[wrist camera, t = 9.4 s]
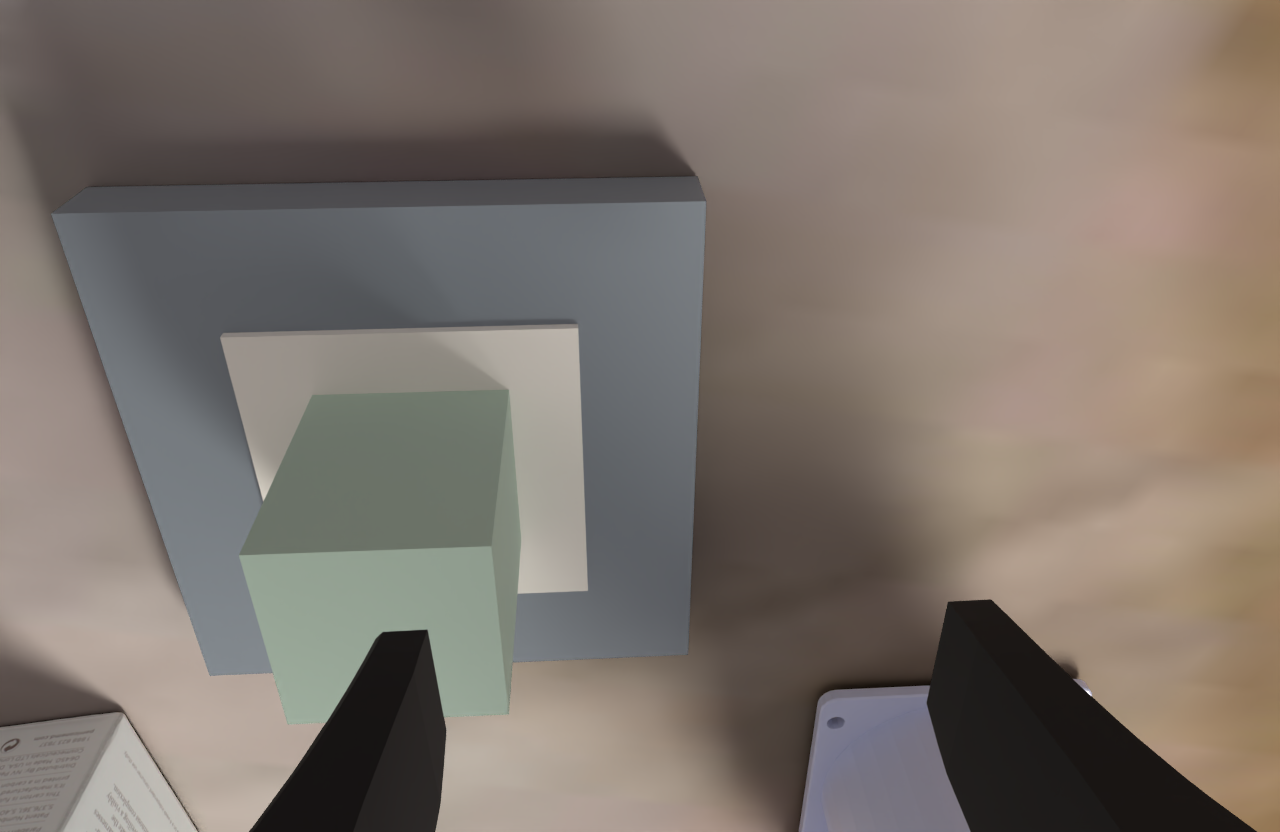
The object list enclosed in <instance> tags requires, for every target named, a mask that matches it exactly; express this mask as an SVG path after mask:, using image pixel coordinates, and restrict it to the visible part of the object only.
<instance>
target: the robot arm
mask: <svg viewBox="0 0 1280 832" xmlns="http://www.w3.org/2000/svg"><path fill="white" fill-rule="evenodd" d="M834 717H836V718H834ZM445 742H446V726H445V721H444V715H443V710H442V704H441V699H440V694H439V688H438V683H437V677H436V672H435V667H434V661H433V656H432V650H431V645H430V639H429V634H428V629H427V630H409V631H390V632H382V633H381V634H380V635H379V636H378V637H377V638H376V639H375V641H374V642H373V644H372V646H371V648H370V650H369V652H368V654H367V655H366V657H365V659H364V661H363V662H362V664H361V666H360V668H359V670H358V671H357V673H356V675H355V676H354V678H353V680H352V682H351V683H350V685H349V687H348V688H347V690H346V692H345V693H344V695H343V697H342V698H341V700H340V701H339V703H338V705H337V706H336V708H335V709H334V711H333V713H332V714H331V716H330V718H329V719H328V721H327V722H326V724H325V725H324V727H323V728H322V730H321V731H320V733H319V734H318V736H317V737H316V739H315V740H314V742H313V743H312V745H311V746H310V748H309V749H308V751H307V752H306V754H305V755H304V757H303V758H302V760H301V761H300V763H299V764H298V766H297V767H296V769H295V770H294V772H293V773H292V774H291V776H290V777H289V779H288V780H287V781H286V783H285V784H284V785H283V787H282V788H281V789H280V791H279V792H278V794H277V795H276V796H275V798H274V799H273V800H272V802H271V803H270V804H269V806H268V807H267V808H266V810H265V811H264V813H263V814H262V815H261V817H260V818H259V819H258V821H257V822H256V823H255V825H254V826H253V827H252V829H251V830H250V831H249V832H435V830H436V825H437V819H438V814H439V809H440V803H441V791H442V780H443V769H444V755H445ZM799 832H1257V831H1255V830H1254V829H1253V828H1251V827H1250V826H1249V825H1247V824H1246V823H1244V822H1243V821H1242V820H1240V819H1239V818H1238V817H1236V816H1235V815H1234V814H1232V813H1231V812H1230V811H1228V810H1227V809H1225V808H1224V807H1223V806H1221V805H1220V804H1219V803H1217V802H1216V801H1215V800H1213V799H1212V798H1211V797H1209V796H1208V795H1207V794H1205V793H1204V792H1203V791H1202V790H1200V789H1199V788H1198V787H1196V786H1195V785H1194V784H1193V783H1191V782H1190V781H1189V780H1187V779H1186V778H1185V777H1184V776H1182V775H1181V774H1180V773H1179V772H1178V771H1176V770H1175V769H1174V768H1173V767H1172V766H1170V765H1169V764H1168V763H1167V762H1166V761H1164V760H1163V759H1162V758H1161V757H1160V756H1158V755H1157V754H1156V753H1155V752H1154V751H1152V750H1151V749H1150V748H1149V747H1148V746H1146V745H1145V744H1144V743H1143V742H1142V741H1140V740H1139V739H1138V738H1137V737H1136V736H1135V735H1134V734H1132V733H1131V732H1130V731H1129V730H1128V729H1127V728H1126V727H1125V726H1123V725H1122V724H1121V723H1120V722H1119V721H1118V720H1117V719H1116V718H1115V717H1113V716H1112V715H1111V714H1110V713H1109V712H1108V711H1107V710H1106V709H1105V708H1104V707H1102V706H1101V705H1100V704H1099V703H1098V702H1097V701H1096V700H1095V699H1094V698H1093V697H1092V693H1091V691H1090V689H1089V688H1088V686H1087V684H1086V683H1085V682H1084V681H1082V680H1081V679H1072V678H1071V677H1070V676H1069V675H1068V674H1067V673H1066V672H1065V671H1064V670H1063V669H1062V668H1061V667H1060V666H1059V665H1058V664H1057V663H1056V662H1055V661H1054V660H1053V659H1052V658H1051V657H1050V656H1049V655H1047V654H1046V653H1045V652H1044V651H1043V650H1042V649H1041V648H1040V647H1039V646H1038V645H1037V644H1036V643H1035V642H1034V641H1033V640H1032V639H1031V638H1030V637H1029V636H1028V635H1027V634H1026V633H1025V632H1024V631H1023V630H1022V629H1021V628H1020V627H1019V626H1018V625H1017V624H1016V623H1015V622H1014V621H1013V620H1012V619H1011V618H1010V617H1009V616H1008V615H1007V614H1006V613H1005V612H1003V611H1002V610H1001V609H1000V608H999V607H998V606H997V605H996V604H995V603H994V602H993V601H992V600H973V601H954V602H948V604H947V609H946V614H945V618H944V623H943V628H942V632H941V637H940V642H939V646H938V651H937V656H936V660H935V665H934V670H933V674H932V679H931V684H930V685H928V686H906V687H884V688H863V689H841V690H832V691H829V692H827V693H825V694H823V695H822V696H821V697H820V699H819V701H818V704H817V711H816V718H815V725H814V731H813V738H812V745H811V752H810V758H809V765H808V772H807V779H806V785H805V792H804V799H803V806H802V812H801V819H800V826H799Z"/></svg>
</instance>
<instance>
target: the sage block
mask: <svg viewBox="0 0 1280 832" xmlns="http://www.w3.org/2000/svg"><path fill="white" fill-rule="evenodd" d="M520 552H521V530H520V517H519V505H518V493H517V481H516V468H515V456H514V444H513V432H512V419H511V407H510V395H509V390H478V391H441V392H405V393H368V394H332V395H312V397H311V399H310V401H309V403H308V405H307V408H306V410H305V412H304V414H303V416H302V418H301V421H300V423H299V425H298V427H297V429H296V432H295V434H294V436H293V438H292V440H291V442H290V445H289V447H288V449H287V451H286V453H285V456H284V458H283V460H282V462H281V464H280V466H279V469H278V471H277V473H276V475H275V477H274V480H273V482H272V484H271V486H270V488H269V491H268V493H267V495H266V497H265V499H264V501H263V504H262V506H261V508H260V510H259V512H258V515H257V517H256V519H255V521H254V523H253V525H252V528H251V530H250V532H249V534H248V536H247V539H246V541H245V543H244V545H243V547H242V549H241V552H240V554H239V558H240V561H241V565H242V568H243V572H244V575H245V578H246V582H247V585H248V589H249V592H250V596H251V599H252V603H253V606H254V610H255V613H256V616H257V620H258V623H259V627H260V630H261V634H262V637H263V641H264V644H265V648H266V651H267V654H268V658H269V661H270V665H271V668H272V672H273V675H274V679H275V682H276V686H277V689H278V692H279V696H280V699H281V703H282V706H283V710H284V713H285V717H286V720H287V724H308V723H326V722H327V721H328V719H329V718H330V716H331V714H332V713H333V711H334V709H335V708H336V706H337V705H338V703H339V701H340V700H341V698H342V697H343V695H344V693H345V692H346V690H347V688H348V687H349V685H350V683H351V682H352V680H353V678H354V676H355V675H356V673H357V671H358V670H359V668H360V666H361V664H362V662H363V661H364V659H365V657H366V655H367V654H368V652H369V650H370V648H371V646H372V644H373V642H374V641H375V639H376V638H377V637H378V636H379V635H380V634H381V633H382V632H390V631H409V630H427V629H428V634H429V639H430V645H431V650H432V656H433V661H434V667H435V672H436V677H437V683H438V688H439V694H440V699H441V704H442V710H443V715H444V717H461V716H483V715H505V714H509V705H510V691H511V677H512V663H513V649H514V635H515V622H516V608H517V594H518V580H519V566H520Z"/></svg>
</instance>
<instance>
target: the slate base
mask: <svg viewBox="0 0 1280 832" xmlns="http://www.w3.org/2000/svg"><path fill="white" fill-rule="evenodd" d="M51 215H52V218H53V221H54V224H55V227H56V230H57V233H58V236H59V238H60V241H61V244H62V247H63V250H64V253H65V256H66V259H67V262H68V265H69V268H70V270H71V273H72V276H73V279H74V282H75V285H76V288H77V291H78V294H79V297H80V300H81V302H82V305H83V308H84V311H85V314H86V317H87V320H88V323H89V326H90V329H91V332H92V334H93V337H94V340H95V343H96V346H97V349H98V352H99V355H100V358H101V361H102V364H103V366H104V369H105V372H106V375H107V378H108V381H109V384H110V387H111V390H112V393H113V396H114V398H115V401H116V404H117V407H118V410H119V413H120V416H121V419H122V422H123V425H124V428H125V430H126V433H127V436H128V439H129V442H130V445H131V448H132V451H133V454H134V457H135V460H136V462H137V465H138V468H139V471H140V474H141V477H142V480H143V483H144V486H145V489H146V492H147V494H148V497H149V500H150V503H151V506H152V509H153V512H154V515H155V518H156V521H157V524H158V527H159V529H160V532H161V535H162V538H163V541H164V544H165V547H166V550H167V553H168V556H169V559H170V561H171V564H172V567H173V570H174V573H175V576H176V579H177V582H178V585H179V588H180V591H181V593H182V596H183V599H184V602H185V605H186V608H187V611H188V614H189V617H190V620H191V623H192V625H193V628H194V631H195V634H196V637H197V640H198V643H199V646H200V649H201V652H202V655H203V657H204V660H205V663H206V666H207V669H208V672H209V675H210V676H215V675H237V674H260V673H273V672H272V668H271V665H270V661H269V658H268V654H267V651H266V648H265V644H264V641H263V637H262V634H261V630H260V627H259V623H258V620H257V616H256V613H255V610H254V606H253V603H252V599H251V596H250V592H249V589H248V585H247V582H246V578H245V575H244V572H243V568H242V565H241V561H240V558H239V554H240V552H241V549H242V547H243V545H244V543H245V541H246V539H247V536H248V534H249V532H250V530H251V528H252V525H253V523H254V521H255V519H256V517H257V515H258V512H259V510H260V508H261V506H262V504H263V501H264V499H265V497H266V495H267V493H268V491H269V488H270V486H271V484H272V482H273V480H274V477H275V475H276V473H277V471H278V469H279V466H280V464H281V462H282V460H283V458H284V456H285V453H286V451H287V449H288V447H289V445H290V442H291V440H292V438H293V436H294V434H295V432H296V429H297V427H298V425H299V423H300V421H301V418H302V416H303V414H304V412H305V410H306V408H307V405H308V403H309V401H310V399H311V397H312V395H332V394H368V393H405V392H441V391H478V390H509V395H510V407H511V419H512V432H513V444H514V456H515V468H516V481H517V493H518V505H519V517H520V530H521V552H520V566H519V580H518V594H517V608H516V622H515V635H514V649H513V662H532V661H555V660H578V659H601V658H623V657H646V656H669V655H688V645H689V620H690V595H691V571H692V546H693V521H694V496H695V471H696V446H697V421H698V396H699V371H700V346H701V321H702V296H703V271H704V247H705V222H706V199H705V196H704V193H703V191H702V188H701V185H700V182H699V179H698V176H685V177H628V178H572V179H515V180H458V181H401V182H345V183H288V184H231V185H174V186H117V187H86V188H85V189H84V190H82V191H81V192H80V193H78V194H77V195H76V196H74V197H73V198H72V199H70V200H69V201H68V202H66V203H65V204H63V205H62V206H61V207H59V208H58V209H57V210H55V211H54V212H53V213H51Z"/></svg>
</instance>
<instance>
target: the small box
mask: <svg viewBox="0 0 1280 832" xmlns="http://www.w3.org/2000/svg"><path fill="white" fill-rule="evenodd" d="M0 832H198V831H197V830H196V828H195V826H194V825H193V823H192V822H191V820H190V818H189V817H188V815H187V813H186V812H185V810H184V809H183V807H182V805H181V804H180V802H179V801H178V799H177V797H176V796H175V794H174V793H173V791H172V790H171V788H170V787H169V785H168V783H167V782H166V780H165V779H164V777H163V775H162V774H161V772H160V771H159V769H158V767H157V766H156V764H155V763H154V761H153V759H152V758H151V756H150V755H149V753H148V751H147V750H146V748H145V747H144V745H143V744H142V742H141V741H140V739H139V737H138V736H137V734H136V732H135V731H134V729H133V728H132V726H131V724H130V723H129V721H128V719H127V717H126V716H125V715H124V714H123V713H120V712H114V713H107V714H99V715H89V716H81V717H75V718H67V719H58V720H51V721H44V722H36V723H29V724H22V725H15V726H7V727H0Z"/></svg>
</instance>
